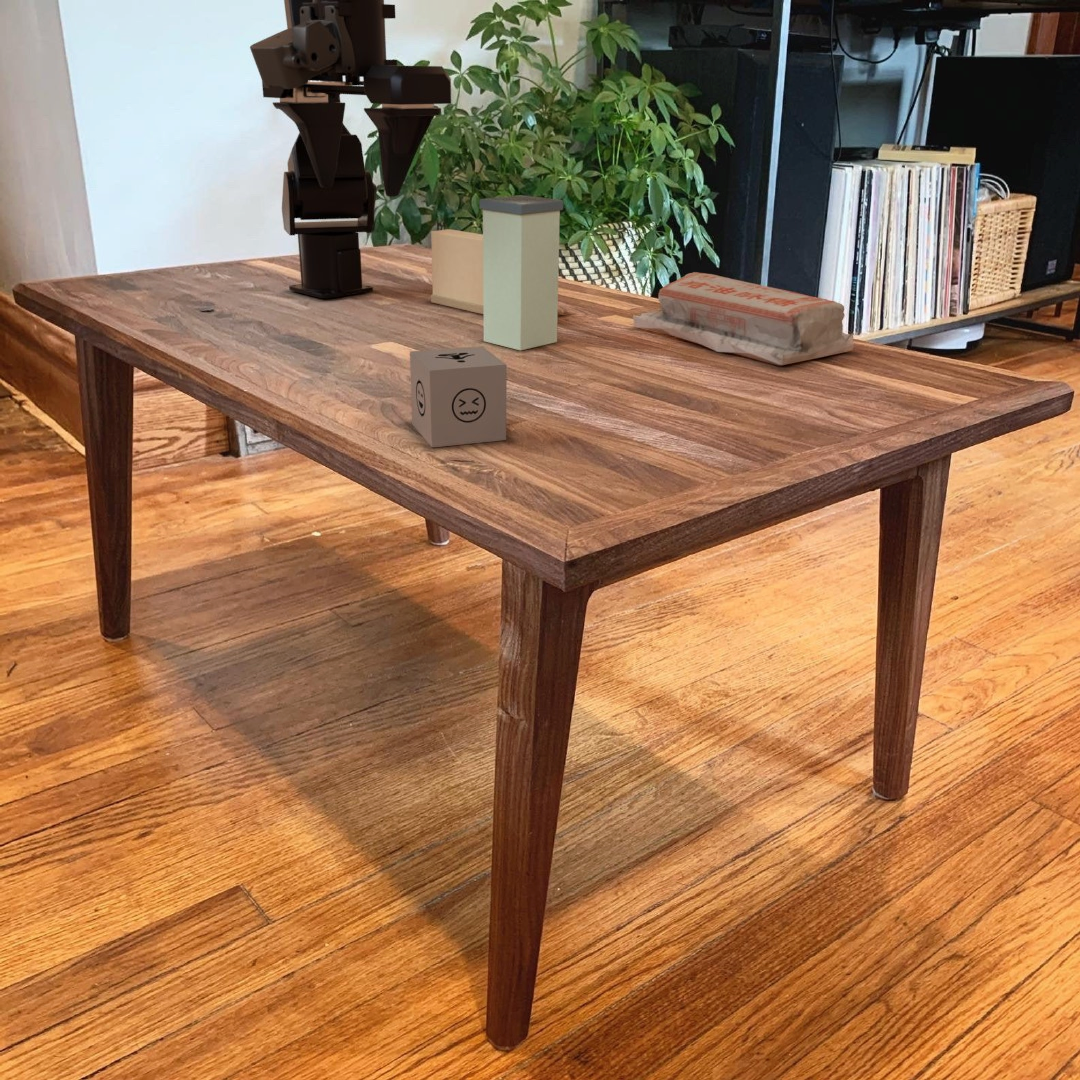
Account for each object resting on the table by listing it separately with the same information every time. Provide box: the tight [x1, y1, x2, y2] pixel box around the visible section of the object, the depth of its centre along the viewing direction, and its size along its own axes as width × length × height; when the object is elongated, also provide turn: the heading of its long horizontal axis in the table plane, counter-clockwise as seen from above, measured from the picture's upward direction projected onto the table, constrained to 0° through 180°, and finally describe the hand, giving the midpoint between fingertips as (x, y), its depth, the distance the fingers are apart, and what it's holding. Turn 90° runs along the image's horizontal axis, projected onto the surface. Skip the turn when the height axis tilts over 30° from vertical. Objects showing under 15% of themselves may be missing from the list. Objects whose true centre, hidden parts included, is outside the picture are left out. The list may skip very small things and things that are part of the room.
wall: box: [430, 228, 484, 315], centre depth 106 cm, size 13×5×7 cm, turn 46°
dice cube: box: [409, 346, 508, 448], centre depth 70 cm, size 5×5×5 cm
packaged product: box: [632, 271, 855, 366], centre depth 95 cm, size 18×5×10 cm
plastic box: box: [479, 194, 564, 351], centre depth 92 cm, size 5×5×12 cm
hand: (358, 191), depth 93 cm, fingers open, 9 cm apart
